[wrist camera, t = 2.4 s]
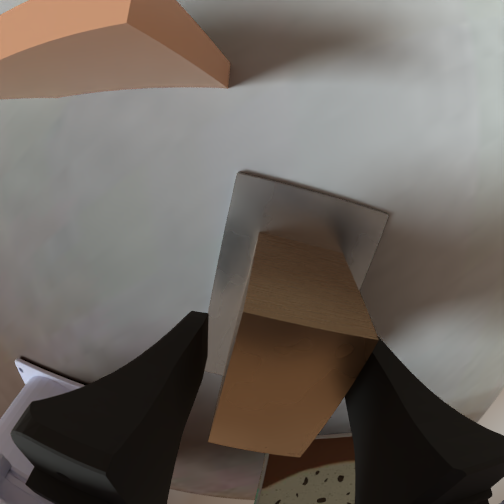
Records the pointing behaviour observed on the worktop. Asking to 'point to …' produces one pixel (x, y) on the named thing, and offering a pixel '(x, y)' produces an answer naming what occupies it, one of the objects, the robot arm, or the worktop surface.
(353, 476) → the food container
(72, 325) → the worktop surface
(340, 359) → the tan block on plate
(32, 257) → the worktop surface
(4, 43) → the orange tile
